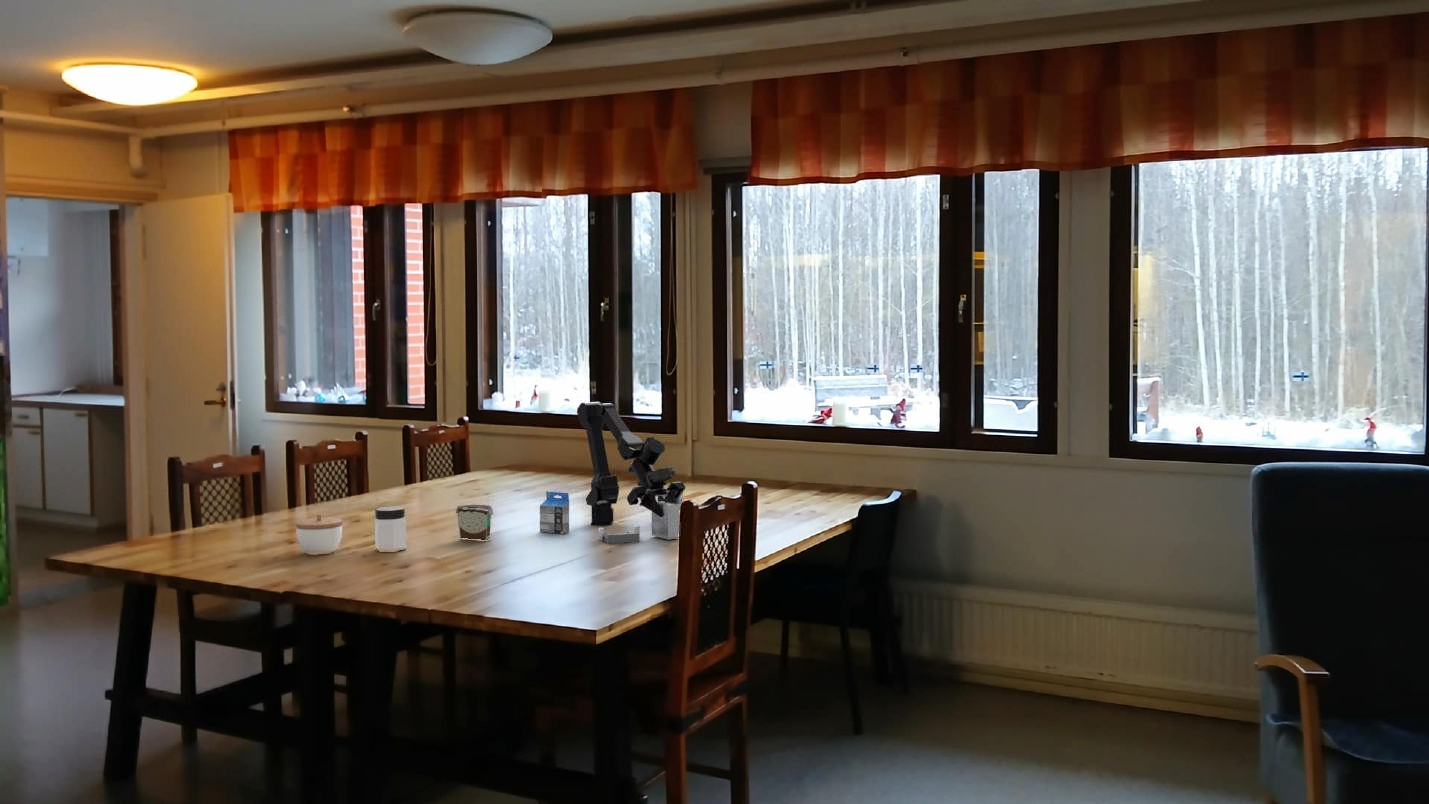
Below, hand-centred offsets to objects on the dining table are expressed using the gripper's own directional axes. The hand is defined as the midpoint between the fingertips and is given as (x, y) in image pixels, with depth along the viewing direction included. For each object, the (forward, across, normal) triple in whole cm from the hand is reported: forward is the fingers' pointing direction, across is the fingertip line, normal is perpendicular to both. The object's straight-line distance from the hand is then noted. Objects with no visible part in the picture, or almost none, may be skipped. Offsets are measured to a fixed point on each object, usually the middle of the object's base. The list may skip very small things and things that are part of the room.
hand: (668, 515), depth 356 cm
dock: (-2, -11, +12) cm, 16 cm away
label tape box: (-17, -20, +28) cm, 38 cm away
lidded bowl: (-29, -87, +40) cm, 100 cm away
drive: (+4, 0, +6) cm, 7 cm away
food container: (-21, -43, +32) cm, 57 cm away
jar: (-23, -70, +34) cm, 81 cm away
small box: (-10, +17, +20) cm, 28 cm away
